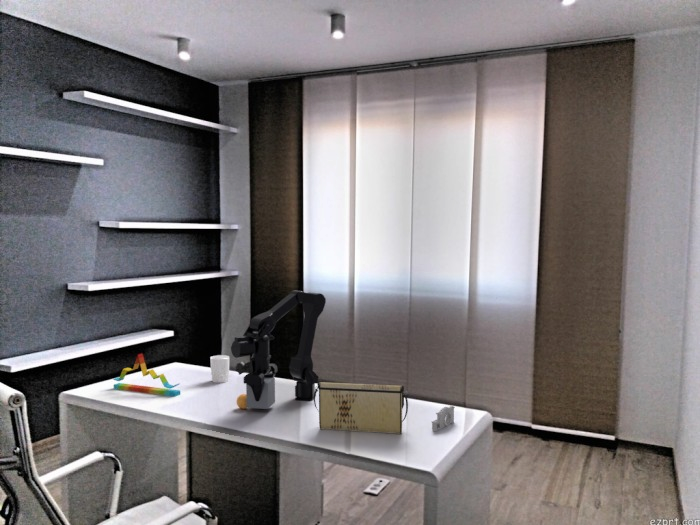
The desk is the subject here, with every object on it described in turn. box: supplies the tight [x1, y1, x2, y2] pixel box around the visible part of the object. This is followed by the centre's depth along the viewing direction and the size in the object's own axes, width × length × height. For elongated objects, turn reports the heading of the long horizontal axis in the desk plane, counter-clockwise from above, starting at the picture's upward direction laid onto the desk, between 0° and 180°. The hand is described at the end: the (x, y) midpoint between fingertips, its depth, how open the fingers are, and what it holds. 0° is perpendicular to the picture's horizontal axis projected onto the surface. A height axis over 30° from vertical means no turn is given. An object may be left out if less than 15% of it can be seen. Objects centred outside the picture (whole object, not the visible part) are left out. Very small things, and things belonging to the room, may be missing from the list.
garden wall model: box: [431, 405, 455, 432], centre depth 180 cm, size 12×2×6 cm, turn 141°
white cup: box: [209, 354, 230, 384], centre depth 238 cm, size 8×8×10 cm
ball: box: [236, 393, 248, 410], centre depth 200 cm, size 5×5×5 cm
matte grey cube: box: [245, 377, 276, 410], centre depth 198 cm, size 8×8×9 cm
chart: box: [113, 353, 181, 397], centre depth 222 cm, size 30×3×15 cm, turn 68°
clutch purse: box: [313, 381, 409, 435], centre depth 178 cm, size 30×7×15 cm, turn 79°
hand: (261, 397), depth 198 cm, fingers closed on matte grey cube, 8 cm apart
